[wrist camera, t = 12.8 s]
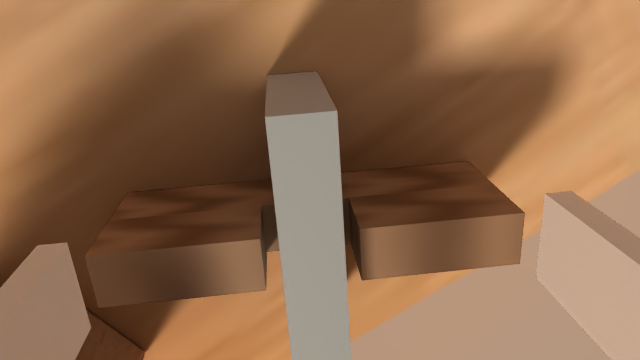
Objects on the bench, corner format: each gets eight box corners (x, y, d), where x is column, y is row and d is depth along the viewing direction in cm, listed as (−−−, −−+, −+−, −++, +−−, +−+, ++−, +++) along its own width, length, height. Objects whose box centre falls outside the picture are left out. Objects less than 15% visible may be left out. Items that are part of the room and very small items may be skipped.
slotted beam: (136, 234, 33) (98, 308, 26) (127, 192, 32) (84, 256, 24) (466, 202, 34) (519, 263, 27) (468, 161, 33) (524, 212, 26)
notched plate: (290, 301, 36) (297, 411, 27) (266, 75, 30) (264, 117, 21) (332, 296, 36) (353, 404, 27) (316, 71, 30) (337, 110, 21)
